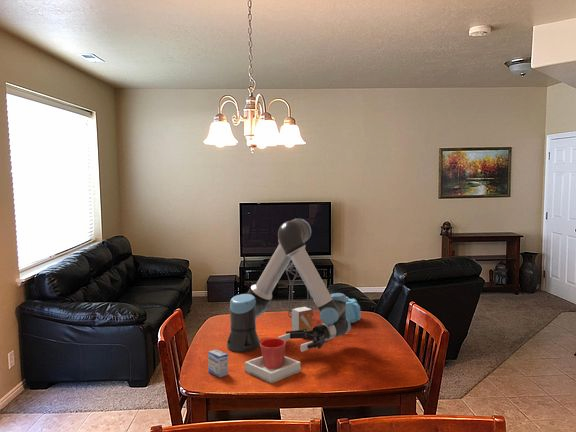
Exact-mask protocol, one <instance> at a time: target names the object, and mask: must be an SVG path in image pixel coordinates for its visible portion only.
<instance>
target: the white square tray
mask: <svg viewBox="0 0 576 432" xmlns="http://www.w3.org/2000/svg"><path fill="white" fill-rule="evenodd" d="M301 367H302V366H301V361H299V360H296V359H293V358H291V357H289V356H284V362H283V366H282V367H279V368H277V369H269V368H266V367H265V366H264V361H263V357H262V355H261V356H259V357H255V358H252V359H250V360H247V361H245V362H244V372H245V373H247V374H249V375H252V376H254V377H256V378H258V379H260V380H262V381H264V382H265V383H266V382H267V383H269V384H274V383H276V382H278V381H281V380H283V379H286V378H289V377H290V376H293V375H295V374H298V373H301V369H302V368H301Z"/></svg>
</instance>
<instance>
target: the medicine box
mask: <svg viewBox="0 0 576 432" xmlns="http://www.w3.org/2000/svg"><path fill="white" fill-rule="evenodd" d="M207 364H208V365H207V366H208V367H207V368H208V370H207V372H208V373H209V374H211V375H214V376H215V377H217V378H222V377H225V376H228V375H229V355H228V353H226V352H223V351H221V350H219V349H212V350H209V351H207Z"/></svg>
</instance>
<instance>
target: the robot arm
mask: <svg viewBox="0 0 576 432" xmlns="http://www.w3.org/2000/svg"><path fill="white" fill-rule="evenodd" d="M311 236H312V228H311V225H310V224H309V222H308V221H306V220H305V219H303V218H294V219H291V220H288V221H285V222H284V223H282V224H281V225H280V226H279V228H278V231H277V238H278V239H277V241H278V245H277V248H276V249H275V251H274V253H273V254H272V255H271V257H270V259H269V260H268V263H267V264H266V266H265V268H264V270H263V271H262V273H261V275H260V276H259V279H258V280H257V281H256V283H254V284H251V286H250V287H249V289H248V291H247V293H240V294H236V295H235V296H233V297H232V298H231V299H230V304H229V314H230V315H229V317H230V332H229V334H228V338H227V343H226V348H227V349H228V350H229V351H232V352H237V353H245V352H246V353H247V352H252V351H255V350H257V349H259V348H261V347H260V343H261V342H260V338H259V335H258V333H257V328H256V327H257V324H256V323H257V318H258V317H259V316H261V315H263V314H265V312H267V311H268V309H269V307H270V305H271V301H272V299H273V291H274V289H275V288H276V286H277V284H278V282H279V280H280V279H281V277H282V275H283V274H284V272H286V267H287V266H288V264H290V263H291V262H293V265H294V266H295V267H294V268H295V270H296V269H297V271H298V273H297V274H298V275H299V276H301V277H300V278H301V280H303V284H305V287H306V290H307V289H308V294H309V295H310V294H311V296H312V301H313V302H314V303H315V305H316V308H317V309H318V310H319V312H320V314H319V318H320V322H322V323H321V324H317V325H315V326H314V327H313V328H312V330H310V331H307V329H303V330H295V331H292V330H288V331H287V330H286V331H285V334H282V335H280V336H277V339H283V340H285V341H286V342H288V341H290V340H292V339H293V340H294V339H295V340H298V339H299V340H300V339H302V340H309V341H307V342H304V343H302V344H300V347H299V349H300V350H299V351H300V352H302V353H303V352H305V351H308V350H310V349H313V348H314V349H316V348H317V349H321V348H322V347H323V346H324V344H325V343H328V341H329V340H331V339H335V338H337V337H339V336H343V335H345V334H348V333H349V332H350V330H351V328H352V325H351V324H352V323H350V321H349V320H348V319H347V318H346V297H347V296H346V294H344V293H341V292H336V293H330V292H329V289H328V288H327V286H326V284H325V283H324V281H323V279H322V277H321V276H320V273H319V271H318V270H317V268H316V267H315V264H314V263H313V261H312V259H311V257H310V255H309V254H308V252H307V250H306V246H307V245H306V242H308V241H309V239H310V238H311ZM287 268H288V267H287ZM305 335H306V336H305Z"/></svg>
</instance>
